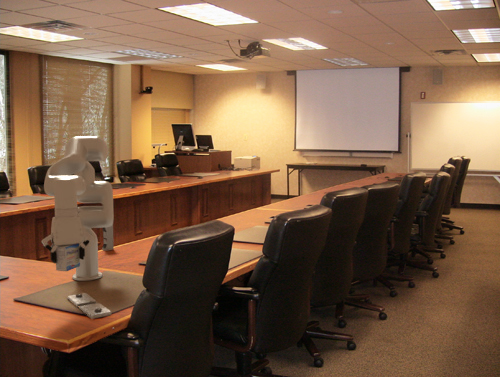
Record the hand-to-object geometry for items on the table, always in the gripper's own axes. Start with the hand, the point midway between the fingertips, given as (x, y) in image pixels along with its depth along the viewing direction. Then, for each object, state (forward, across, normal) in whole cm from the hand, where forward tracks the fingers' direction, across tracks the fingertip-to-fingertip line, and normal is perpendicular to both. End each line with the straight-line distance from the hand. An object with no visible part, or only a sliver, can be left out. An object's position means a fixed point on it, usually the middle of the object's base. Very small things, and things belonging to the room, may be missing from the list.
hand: (68, 260), depth 184 cm
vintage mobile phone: (+19, -45, -90) cm, 102 cm away
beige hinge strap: (+18, -6, +1) cm, 19 cm away
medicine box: (+3, 0, 0) cm, 3 cm away
